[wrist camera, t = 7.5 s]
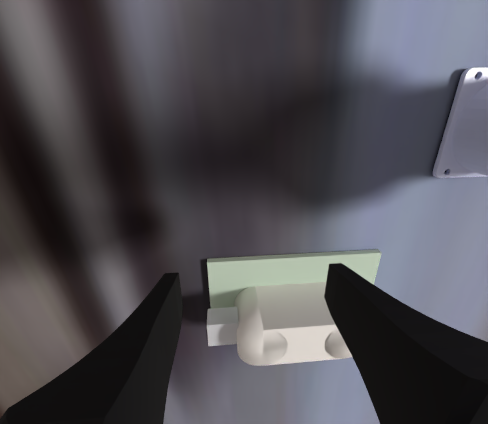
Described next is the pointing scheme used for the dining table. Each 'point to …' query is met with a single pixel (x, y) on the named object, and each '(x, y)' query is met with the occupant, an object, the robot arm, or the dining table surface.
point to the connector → (278, 325)
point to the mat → (281, 271)
